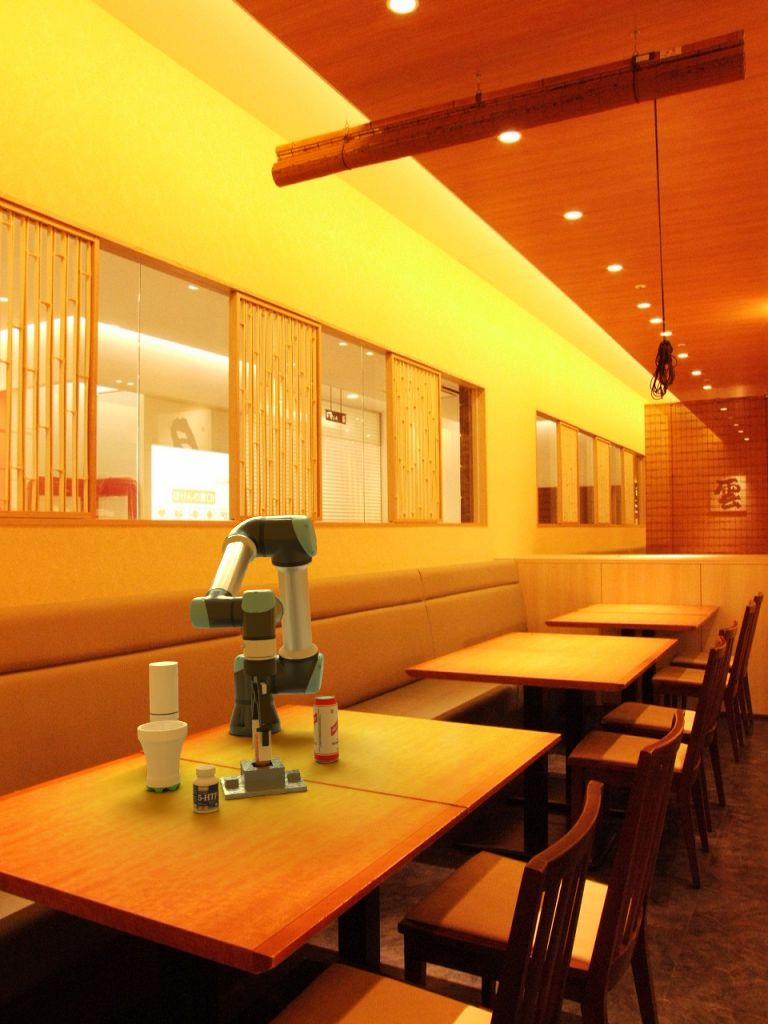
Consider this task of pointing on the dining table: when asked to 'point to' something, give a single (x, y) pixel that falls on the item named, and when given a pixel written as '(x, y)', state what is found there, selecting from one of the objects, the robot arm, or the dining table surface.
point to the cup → (162, 753)
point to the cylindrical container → (163, 691)
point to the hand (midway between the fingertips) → (261, 753)
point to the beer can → (326, 729)
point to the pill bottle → (205, 790)
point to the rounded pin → (257, 762)
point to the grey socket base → (262, 780)
